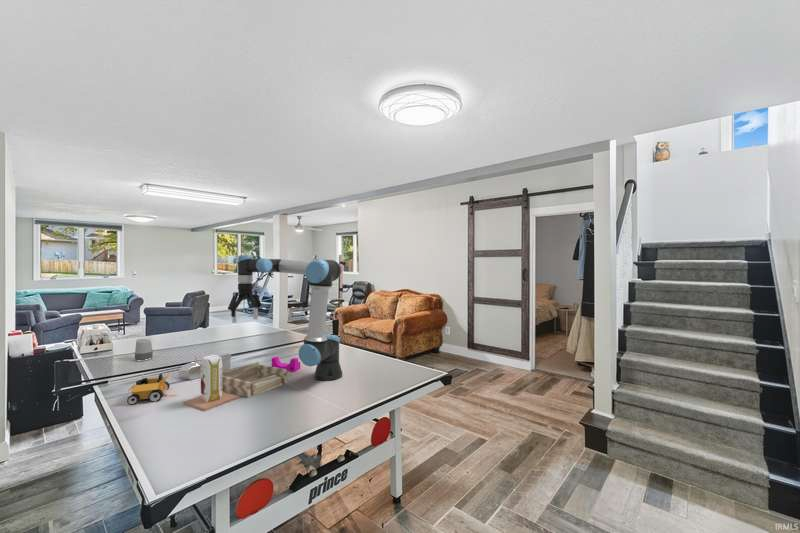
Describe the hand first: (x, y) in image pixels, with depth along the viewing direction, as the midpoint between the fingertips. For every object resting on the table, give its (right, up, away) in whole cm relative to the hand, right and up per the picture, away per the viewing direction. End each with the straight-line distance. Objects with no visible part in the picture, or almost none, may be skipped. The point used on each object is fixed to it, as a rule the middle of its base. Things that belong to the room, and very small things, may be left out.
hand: (245, 320), depth 191 cm
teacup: (-13, -31, +3) cm, 33 cm away
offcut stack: (+19, -31, -20) cm, 42 cm away
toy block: (+19, -31, +11) cm, 38 cm away
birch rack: (+11, -31, -17) cm, 37 cm away
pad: (+1, -31, -36) cm, 47 cm away
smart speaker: (-81, -31, +33) cm, 93 cm away
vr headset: (-25, -30, -4) cm, 39 cm away
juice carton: (+1, -30, -36) cm, 47 cm away
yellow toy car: (-31, -31, -31) cm, 54 cm away
